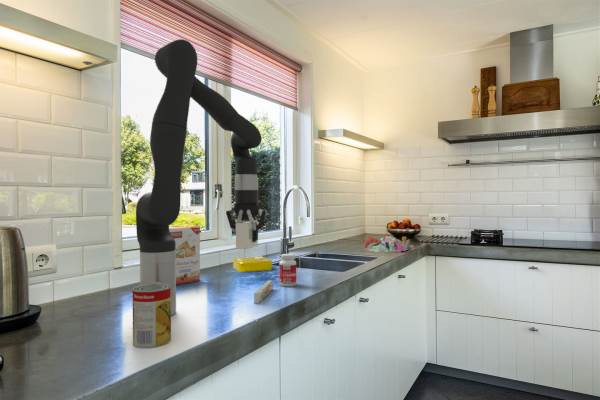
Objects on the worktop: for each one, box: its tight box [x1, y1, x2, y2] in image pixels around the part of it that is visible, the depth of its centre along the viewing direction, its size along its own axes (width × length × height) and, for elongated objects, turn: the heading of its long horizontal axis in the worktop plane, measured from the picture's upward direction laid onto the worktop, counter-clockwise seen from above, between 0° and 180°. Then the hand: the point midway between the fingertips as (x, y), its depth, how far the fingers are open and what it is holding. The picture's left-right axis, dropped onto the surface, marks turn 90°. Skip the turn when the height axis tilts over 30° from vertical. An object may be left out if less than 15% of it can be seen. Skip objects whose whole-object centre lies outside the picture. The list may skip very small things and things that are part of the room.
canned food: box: [132, 283, 172, 349], centre depth 91 cm, size 8×8×12 cm
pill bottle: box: [278, 253, 297, 287], centre depth 150 cm, size 6×6×11 cm
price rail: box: [253, 279, 274, 304], centre depth 133 cm, size 20×2×3 cm, turn 172°
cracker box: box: [169, 225, 201, 285], centre depth 156 cm, size 14×6×21 cm, turn 141°
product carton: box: [235, 221, 259, 250], centre depth 134 cm, size 4×10×8 cm, turn 168°
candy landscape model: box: [364, 235, 411, 253], centre depth 247 cm, size 25×24×9 cm
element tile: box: [232, 256, 273, 273], centre depth 187 cm, size 15×15×5 cm
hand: (247, 241), depth 134 cm, fingers closed on product carton, 4 cm apart
